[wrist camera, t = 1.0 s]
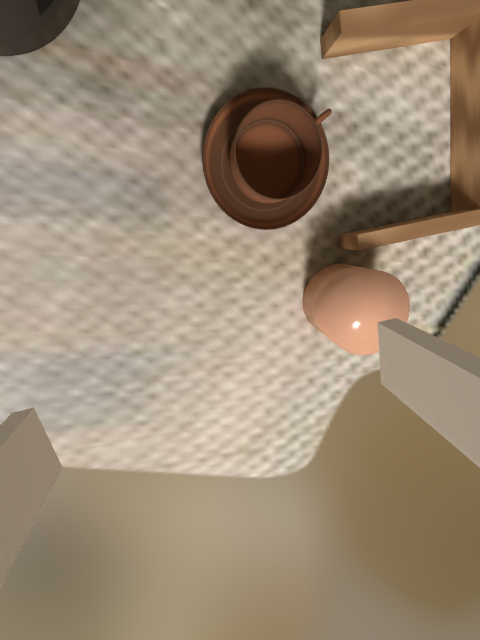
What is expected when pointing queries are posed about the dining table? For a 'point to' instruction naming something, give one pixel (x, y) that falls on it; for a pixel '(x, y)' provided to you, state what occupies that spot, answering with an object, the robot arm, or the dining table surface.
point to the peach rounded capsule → (354, 305)
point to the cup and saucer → (266, 158)
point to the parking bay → (466, 98)
